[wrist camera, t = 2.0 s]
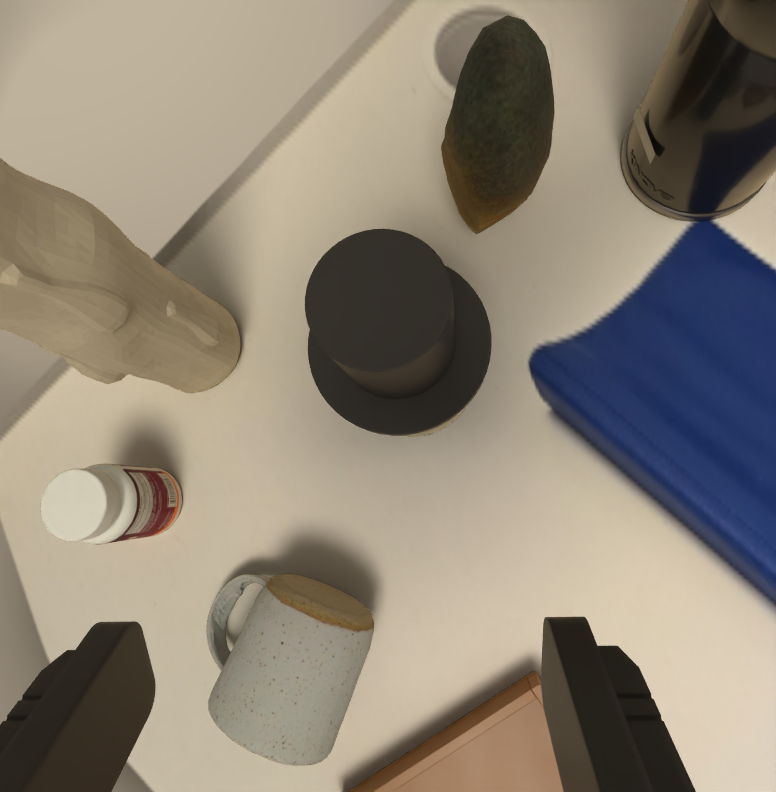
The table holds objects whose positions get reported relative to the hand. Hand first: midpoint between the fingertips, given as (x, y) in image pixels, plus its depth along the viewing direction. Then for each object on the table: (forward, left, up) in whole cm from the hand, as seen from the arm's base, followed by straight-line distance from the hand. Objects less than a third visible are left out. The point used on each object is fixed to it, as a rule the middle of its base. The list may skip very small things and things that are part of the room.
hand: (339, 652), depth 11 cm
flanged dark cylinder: (-5, -10, -19) cm, 22 cm away
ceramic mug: (+11, 0, -27) cm, 29 cm away
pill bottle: (+15, -13, -27) cm, 33 cm away
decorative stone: (-16, -17, -27) cm, 35 cm away
